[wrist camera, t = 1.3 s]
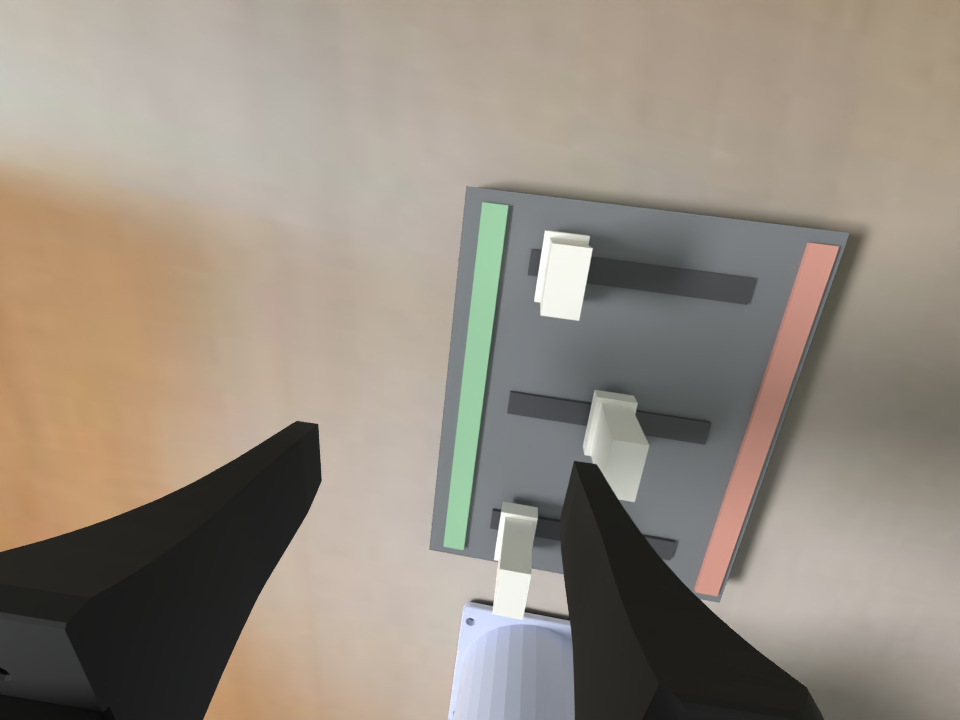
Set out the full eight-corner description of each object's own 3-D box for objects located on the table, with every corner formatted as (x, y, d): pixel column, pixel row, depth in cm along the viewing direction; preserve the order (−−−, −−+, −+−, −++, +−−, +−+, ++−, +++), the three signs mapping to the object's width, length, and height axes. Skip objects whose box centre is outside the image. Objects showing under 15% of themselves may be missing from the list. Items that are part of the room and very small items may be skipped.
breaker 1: (529, 554, 22) (527, 625, 18) (495, 548, 22) (486, 617, 19) (537, 507, 21) (537, 571, 18) (502, 501, 22) (494, 563, 18)
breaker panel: (708, 579, 24) (721, 606, 22) (435, 529, 25) (428, 552, 23) (825, 231, 18) (853, 233, 17) (471, 188, 20) (465, 186, 18)
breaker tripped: (620, 451, 20) (639, 508, 16) (582, 445, 20) (592, 500, 16) (633, 395, 19) (656, 441, 16) (594, 389, 19) (607, 433, 16)
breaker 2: (575, 303, 18) (584, 328, 15) (534, 298, 19) (532, 320, 15) (587, 235, 18) (601, 242, 14) (544, 229, 18) (546, 235, 14)
